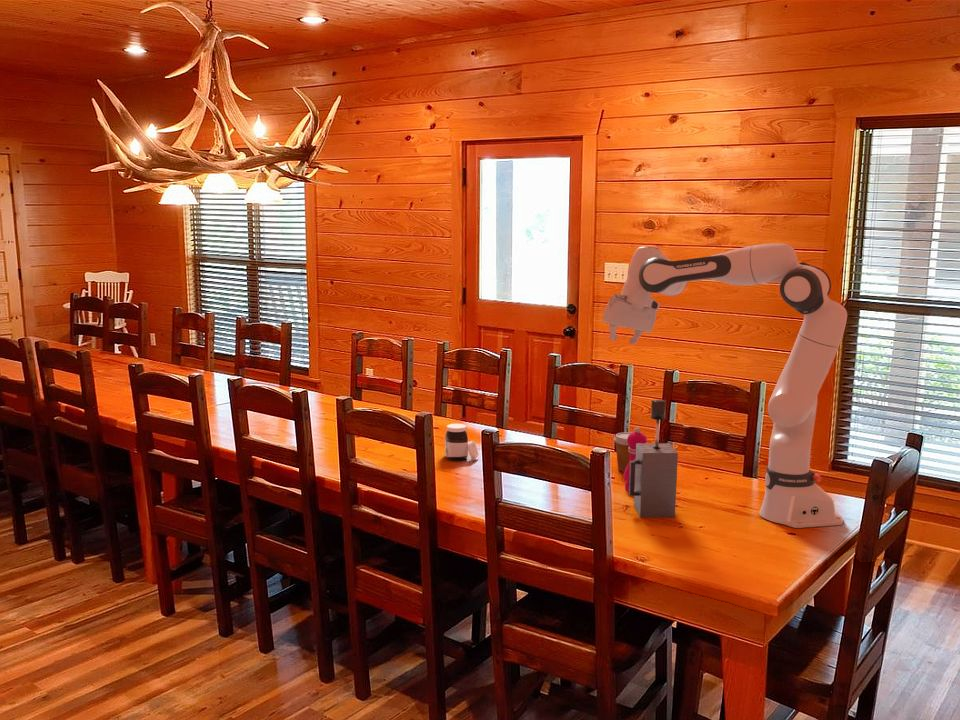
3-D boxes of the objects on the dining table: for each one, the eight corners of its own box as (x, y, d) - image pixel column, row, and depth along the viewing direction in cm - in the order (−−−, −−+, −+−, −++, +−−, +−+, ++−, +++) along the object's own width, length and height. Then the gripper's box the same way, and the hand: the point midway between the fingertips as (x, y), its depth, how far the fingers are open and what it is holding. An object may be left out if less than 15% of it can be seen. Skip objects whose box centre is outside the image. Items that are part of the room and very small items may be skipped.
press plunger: (666, 454, 257) (669, 398, 254) (672, 462, 249) (675, 404, 246) (640, 454, 257) (642, 398, 254) (645, 462, 249) (647, 404, 246)
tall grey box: (667, 505, 261) (670, 443, 257) (674, 517, 251) (677, 453, 247) (625, 505, 260) (628, 443, 257) (631, 517, 251) (634, 452, 247)
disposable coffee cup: (643, 474, 290) (645, 439, 288) (615, 474, 290) (616, 439, 288) (639, 466, 300) (640, 432, 297) (611, 465, 300) (612, 431, 298)
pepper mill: (646, 493, 271) (649, 431, 268) (622, 492, 272) (625, 429, 269) (646, 486, 278) (649, 425, 275) (623, 484, 279) (626, 424, 276)
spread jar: (442, 454, 312) (442, 423, 310) (473, 452, 315) (473, 421, 313) (449, 464, 300) (449, 431, 298) (481, 462, 303) (482, 429, 301)
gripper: (620, 294, 257) (607, 339, 259) (663, 306, 271) (650, 348, 272) (605, 290, 262) (592, 334, 264) (648, 301, 275) (635, 343, 277)
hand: (622, 342), depth 268 cm, fingers open, 8 cm apart
